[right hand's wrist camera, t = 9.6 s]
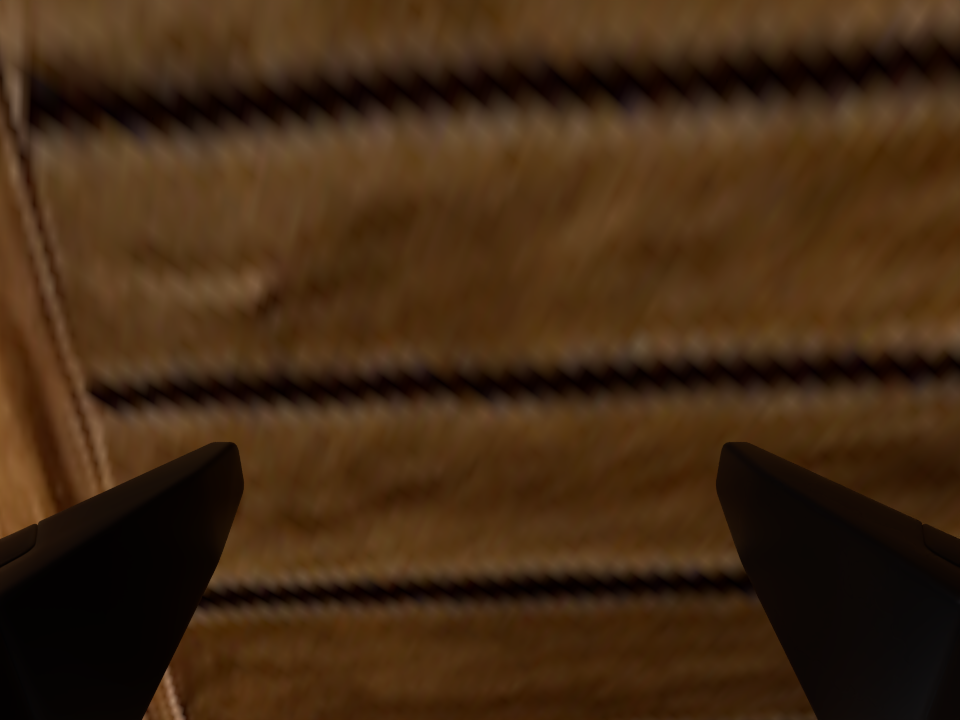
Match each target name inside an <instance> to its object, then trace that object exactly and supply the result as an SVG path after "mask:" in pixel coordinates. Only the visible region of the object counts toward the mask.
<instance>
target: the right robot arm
mask: <svg viewBox="0 0 960 720" xmlns="http://www.w3.org/2000/svg"><path fill="white" fill-rule="evenodd" d="M243 490H244V479H243V473H242V468H241V462H240V456H239V450H238V448H237V445H236V444H235V443H232V442H213V443H210V444H208V445H206V446H203V447H201V448H199V449H197V450H195V451H192V452H190V453H188V454H186V455H184V456H182V457H179V458H177V459H175V460H173V461H171V462H168V463H166V464H164V465H162V466H160V467H157V468H155V469H153V470H151V471H149V472H147V473H144V474H142V475H140V476H138V477H136V478H133V479H131V480H129V481H127V482H125V483H122V484H120V485H118V486H116V487H114V488H112V489H109V490H107V491H105V492H103V493H101V494H98V495H96V496H94V497H92V498H90V499H88V500H85V501H83V502H81V503H79V504H77V505H74V506H72V507H70V508H68V509H66V510H63V511H61V512H59V513H57V514H55V515H53V516H50V517H48V518H46V519H44V520H42V521H40V522H39V523H38V525H37V524H33V525H30V526H28V527H26V528H24V529H22V530H20V531H17V532H15V533H13V534H11V535H8V536H6V537H4V538H2V539H0V720H142V719H143V717H144V715H145V712H146V710H147V708H148V706H149V704H150V702H151V700H152V698H153V696H154V694H155V692H156V690H157V688H158V686H159V684H160V682H161V680H162V678H163V676H164V674H165V672H166V669H167V667H168V665H169V663H170V661H171V659H172V657H173V655H174V653H175V651H176V649H177V647H178V645H179V643H180V641H181V639H182V637H183V635H184V633H185V631H186V629H187V626H188V624H189V622H190V620H191V618H192V616H193V614H194V612H195V610H196V608H197V606H198V604H199V602H200V600H201V598H202V596H203V594H204V592H205V590H206V588H207V586H208V583H209V581H210V579H211V577H212V575H213V573H214V571H215V569H216V567H217V564H218V562H219V560H220V557H221V554H222V552H223V549H224V546H225V543H226V540H227V538H228V535H229V532H230V529H231V526H232V523H233V520H234V517H235V515H236V512H237V509H238V506H239V503H240V500H241V497H242V494H243ZM716 490H717V494H718V497H719V500H720V503H721V506H722V509H723V512H724V515H725V517H726V520H727V523H728V526H729V529H730V532H731V535H732V538H733V540H734V543H735V546H736V549H737V552H738V554H739V557H740V560H741V562H742V564H743V567H744V569H745V571H746V573H747V575H748V577H749V579H750V581H751V583H752V586H753V588H754V590H755V592H756V594H757V596H758V598H759V600H760V602H761V604H762V606H763V608H764V610H765V612H766V614H767V616H768V618H769V620H770V622H771V624H772V626H773V629H774V631H775V633H776V635H777V637H778V639H779V641H780V643H781V645H782V647H783V649H784V651H785V653H786V655H787V657H788V659H789V661H790V663H791V665H792V667H793V669H794V672H795V674H796V676H797V678H798V680H799V682H800V684H801V686H802V688H803V690H804V692H805V694H806V696H807V698H808V700H809V702H810V704H811V706H812V708H813V710H814V713H815V715H816V717H817V719H818V720H960V539H958V538H956V537H954V536H952V535H949V534H947V533H945V532H943V531H940V530H938V529H936V528H934V527H932V526H930V525H927V524H923V525H922V523H921V522H920V521H918V520H916V519H914V518H912V517H910V516H907V515H905V514H903V513H901V512H899V511H897V510H894V509H892V508H890V507H888V506H886V505H883V504H881V503H879V502H877V501H875V500H872V499H870V498H868V497H866V496H864V495H862V494H859V493H857V492H855V491H853V490H851V489H848V488H846V487H844V486H842V485H840V484H838V483H835V482H833V481H831V480H829V479H827V478H824V477H822V476H820V475H818V474H816V473H813V472H811V471H809V470H807V469H805V468H803V467H800V466H798V465H796V464H794V463H792V462H789V461H787V460H785V459H783V458H781V457H778V456H776V455H774V454H772V453H770V452H768V451H765V450H763V449H761V448H759V447H757V446H754V445H752V444H750V443H747V442H728V443H725V444H724V445H723V448H722V450H721V456H720V462H719V468H718V473H717V479H716Z"/></svg>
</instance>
